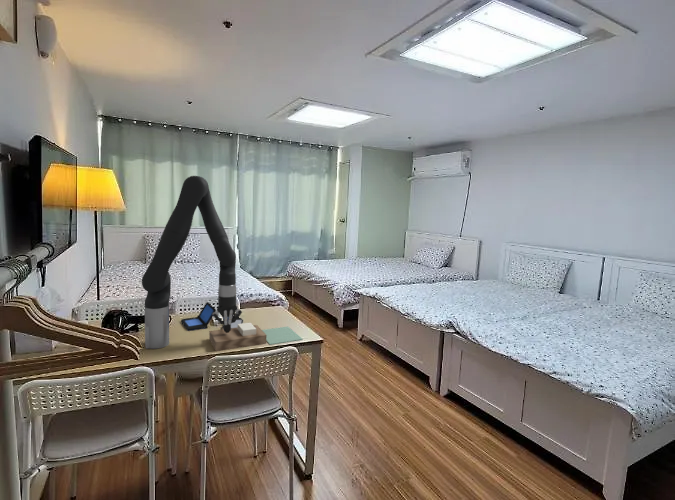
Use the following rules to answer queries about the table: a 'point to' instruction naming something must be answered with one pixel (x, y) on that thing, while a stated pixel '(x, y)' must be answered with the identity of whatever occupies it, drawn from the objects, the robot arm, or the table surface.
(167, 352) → the table surface
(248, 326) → the tile
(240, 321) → the gaming console
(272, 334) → the mat
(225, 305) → the robot arm
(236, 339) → the block
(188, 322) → the handheld game console
